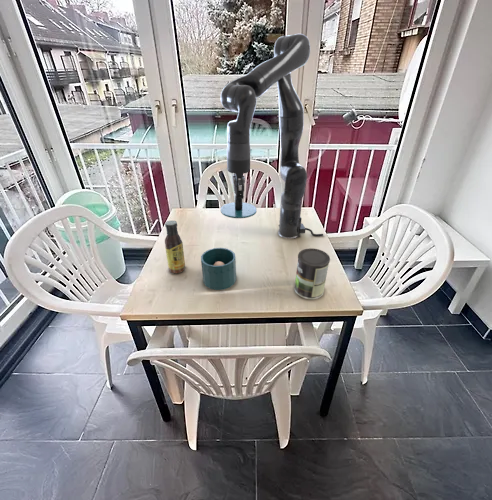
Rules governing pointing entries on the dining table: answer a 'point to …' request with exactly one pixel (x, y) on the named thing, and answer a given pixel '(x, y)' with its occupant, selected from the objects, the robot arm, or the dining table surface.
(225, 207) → the pot lid
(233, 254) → the pot
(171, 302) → the dining table surface
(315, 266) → the coffee can
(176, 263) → the sauce bottle
